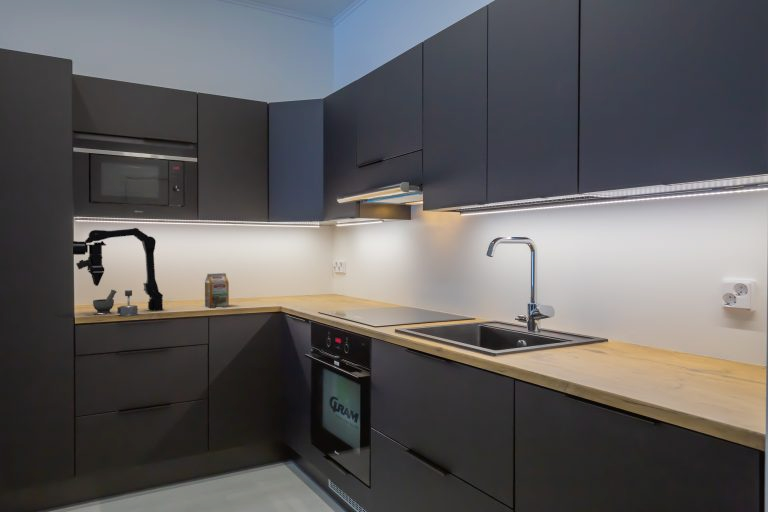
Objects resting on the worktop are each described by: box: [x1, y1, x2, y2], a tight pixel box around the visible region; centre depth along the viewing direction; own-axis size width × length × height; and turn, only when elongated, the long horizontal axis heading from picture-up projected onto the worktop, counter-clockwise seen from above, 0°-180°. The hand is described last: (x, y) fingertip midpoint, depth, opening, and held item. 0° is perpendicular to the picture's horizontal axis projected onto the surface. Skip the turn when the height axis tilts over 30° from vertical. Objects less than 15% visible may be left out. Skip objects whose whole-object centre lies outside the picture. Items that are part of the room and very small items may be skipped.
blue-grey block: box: [116, 304, 139, 317], centre depth 261 cm, size 9×8×4 cm
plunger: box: [123, 289, 133, 307], centre depth 261 cm, size 5×5×9 cm
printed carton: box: [204, 272, 230, 309], centre depth 296 cm, size 11×11×19 cm
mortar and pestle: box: [92, 289, 117, 314], centre depth 267 cm, size 11×9×12 cm
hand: (95, 285), depth 264 cm, fingers open, 9 cm apart
